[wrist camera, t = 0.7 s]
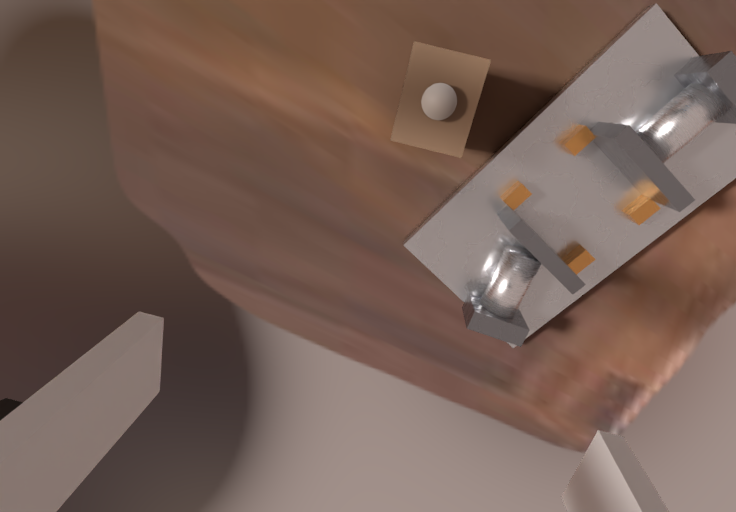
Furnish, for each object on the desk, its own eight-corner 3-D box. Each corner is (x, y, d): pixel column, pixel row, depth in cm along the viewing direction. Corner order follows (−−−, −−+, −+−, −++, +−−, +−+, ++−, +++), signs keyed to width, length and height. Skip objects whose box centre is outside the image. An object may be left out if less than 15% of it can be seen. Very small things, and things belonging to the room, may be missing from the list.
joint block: (414, 55, 28) (414, 39, 21) (473, 69, 28) (493, 58, 21) (395, 131, 30) (389, 141, 23) (451, 145, 30) (462, 159, 23)
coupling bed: (647, 6, 26) (700, -15, 21) (762, 146, 28) (835, 156, 23) (403, 241, 33) (401, 265, 28) (510, 341, 35) (526, 380, 30)
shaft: (493, 238, 31) (502, 253, 28) (546, 256, 31) (560, 272, 28) (461, 307, 33) (466, 328, 30) (511, 324, 33) (520, 346, 30)
